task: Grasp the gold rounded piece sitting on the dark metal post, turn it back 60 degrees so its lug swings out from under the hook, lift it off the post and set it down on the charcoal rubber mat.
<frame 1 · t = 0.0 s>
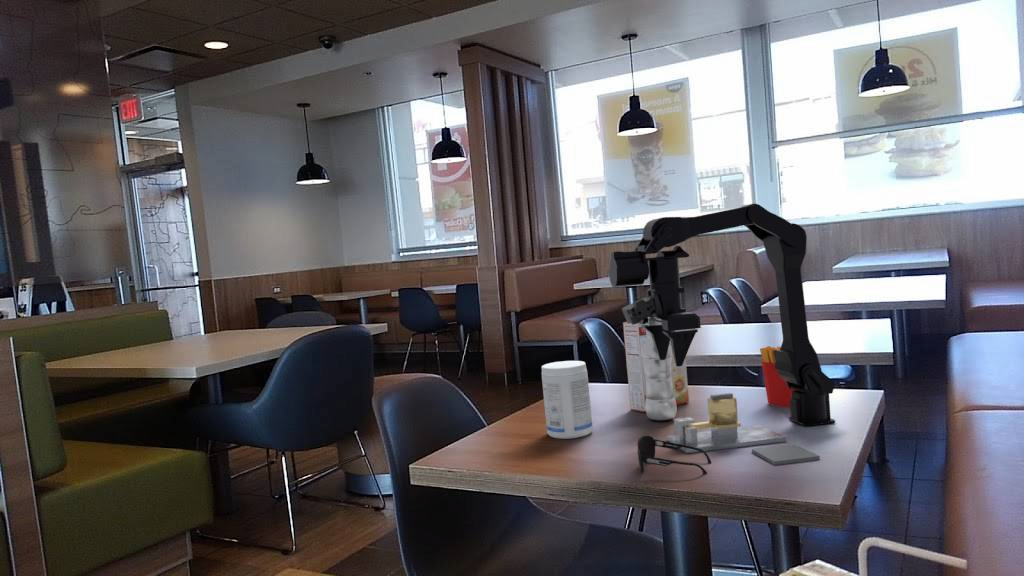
hand: (670, 362, 138), 15 cm above the table, fingers open, 9 cm apart
cracker box: (659, 407, 167), on the table
sunglasses: (674, 470, 120), on the table
lock base: (724, 440, 133), on the table
french fries: (783, 404, 159), on the table
gold rounded piece: (723, 424, 133), point 3 cm above the table, touching lock base
mat: (784, 455, 121), on the table
supplement tub: (569, 434, 148), on the table
plastic bottle: (661, 420, 153), on the table
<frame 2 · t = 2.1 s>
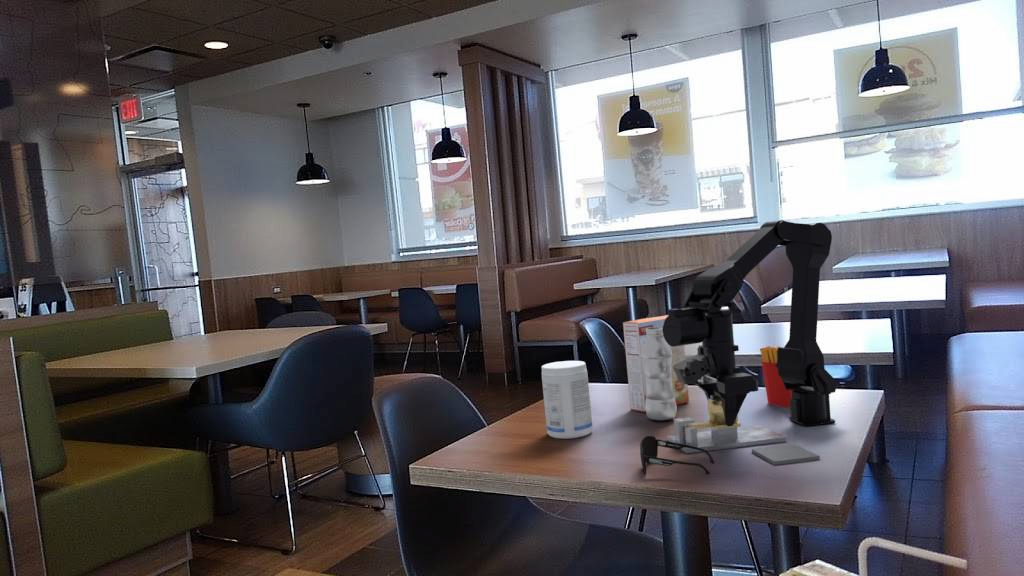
hand: (723, 422, 133), 3 cm above the table, fingers closed on gold rounded piece, 5 cm apart
gold rounded piece: (723, 424, 133), point 3 cm above the table, touching gripper, lock base
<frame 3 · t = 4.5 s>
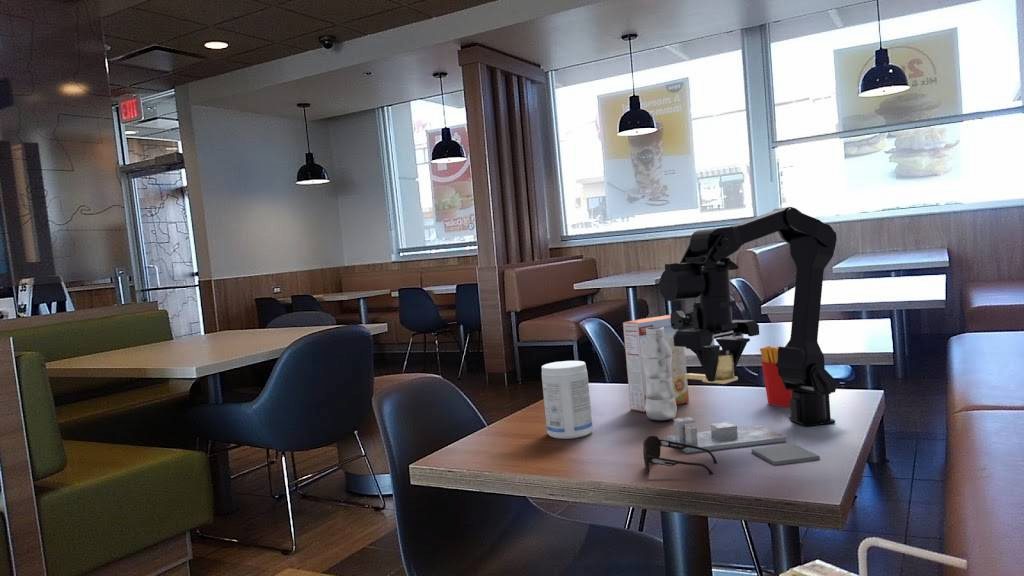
hand: (720, 379, 133), 12 cm above the table, fingers closed on gold rounded piece, 5 cm apart
gold rounded piece: (720, 380, 133), point 11 cm above the table, touching gripper
when the fingers open (3 cm above the table, at t = 7.2 s): gold rounded piece drops 2 cm, resting on mat.
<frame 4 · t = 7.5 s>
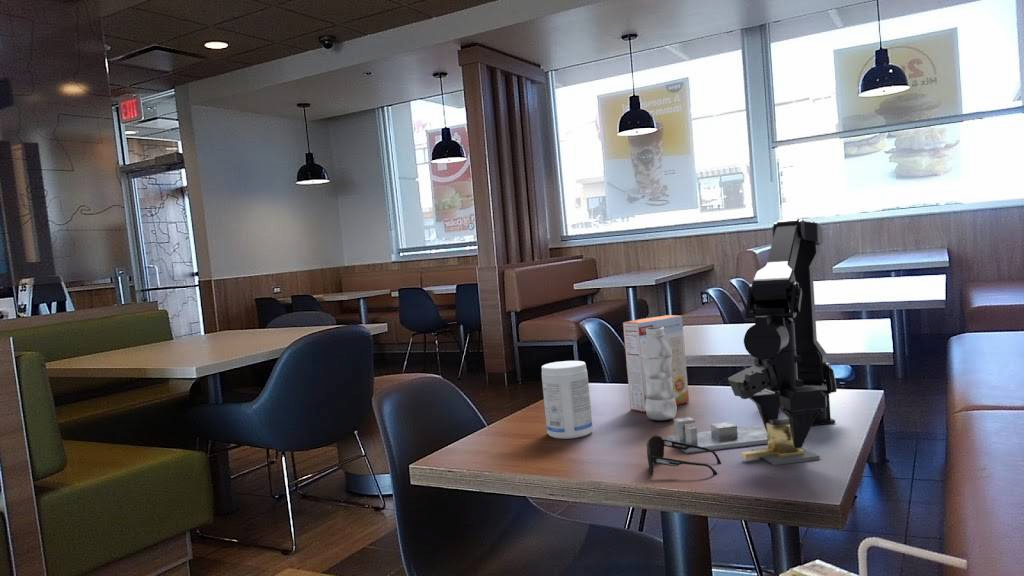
hand: (783, 440, 121), 3 cm above the table, fingers open, 9 cm apart
gold rounded piece: (784, 452, 121), point 1 cm above the table, touching mat
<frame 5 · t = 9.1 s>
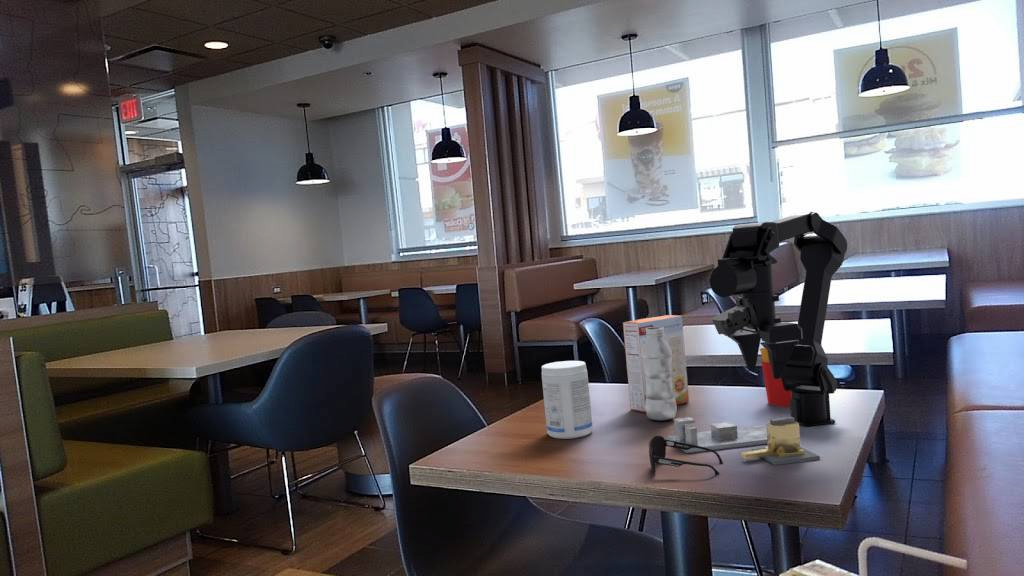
hand: (763, 374, 132), 12 cm above the table, fingers open, 9 cm apart
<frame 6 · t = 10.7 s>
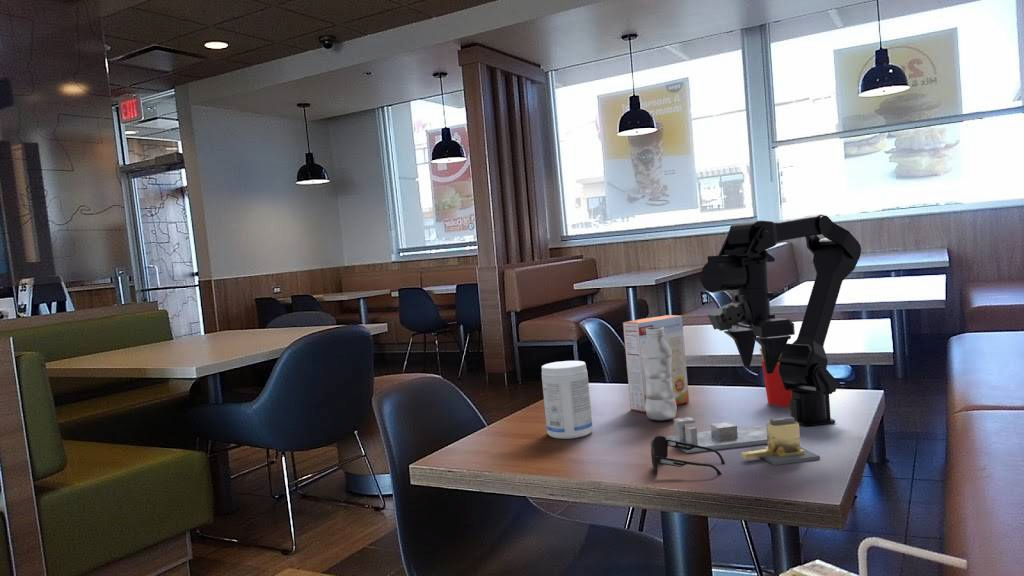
hand: (757, 369, 135), 13 cm above the table, fingers open, 9 cm apart
at the end: gold rounded piece inside the target area on the mat (0.1 cm from its centre), point 0.6 cm above the mat's base; gold rounded piece tilted 0°; gold rounded piece touching mat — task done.
